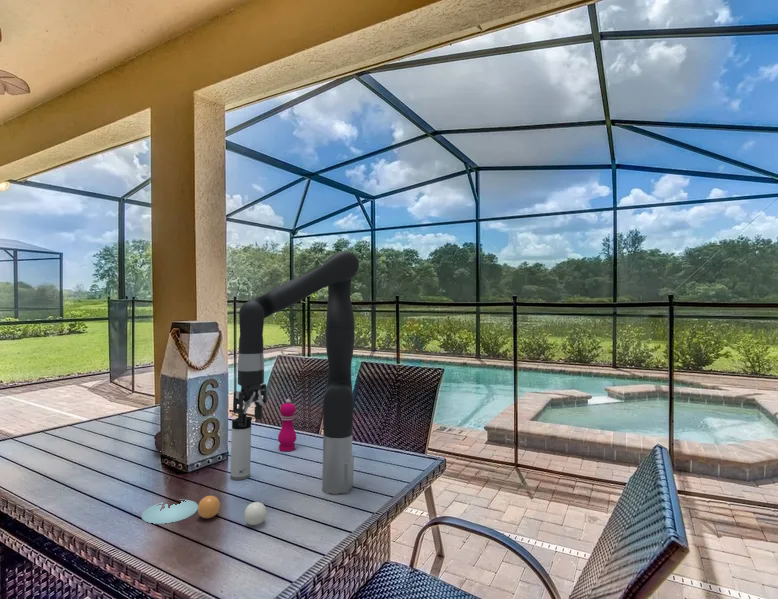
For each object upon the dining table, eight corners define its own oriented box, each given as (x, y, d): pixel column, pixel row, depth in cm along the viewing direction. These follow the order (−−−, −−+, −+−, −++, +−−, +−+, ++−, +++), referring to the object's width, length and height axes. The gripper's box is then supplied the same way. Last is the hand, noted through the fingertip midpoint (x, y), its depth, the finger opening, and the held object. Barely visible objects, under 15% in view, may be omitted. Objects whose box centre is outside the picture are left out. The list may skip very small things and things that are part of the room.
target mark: (208, 503, 127) (208, 502, 127) (174, 527, 114) (174, 526, 114) (167, 497, 131) (167, 497, 131) (129, 520, 117) (129, 519, 117)
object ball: (223, 513, 121) (224, 493, 122) (211, 523, 116) (211, 502, 116) (206, 511, 123) (206, 491, 123) (192, 520, 117) (193, 499, 117)
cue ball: (269, 520, 118) (270, 499, 118) (259, 530, 113) (259, 508, 113) (251, 517, 120) (251, 497, 120) (239, 527, 114) (240, 506, 114)
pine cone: (144, 452, 169) (145, 426, 169) (170, 445, 177) (171, 421, 177) (167, 463, 158) (167, 435, 158) (193, 455, 166) (194, 429, 166)
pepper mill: (280, 453, 171) (281, 401, 171) (275, 447, 178) (276, 398, 178) (298, 450, 174) (299, 400, 175) (293, 445, 181) (294, 396, 181)
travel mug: (244, 481, 144) (246, 420, 144) (226, 479, 145) (228, 418, 145) (254, 474, 150) (255, 415, 150) (236, 472, 151) (238, 414, 151)
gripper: (248, 372, 123) (248, 430, 123) (274, 365, 137) (274, 417, 137) (225, 371, 125) (224, 428, 125) (253, 364, 139) (252, 415, 139)
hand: (250, 422), depth 131 cm, fingers open, 8 cm apart
